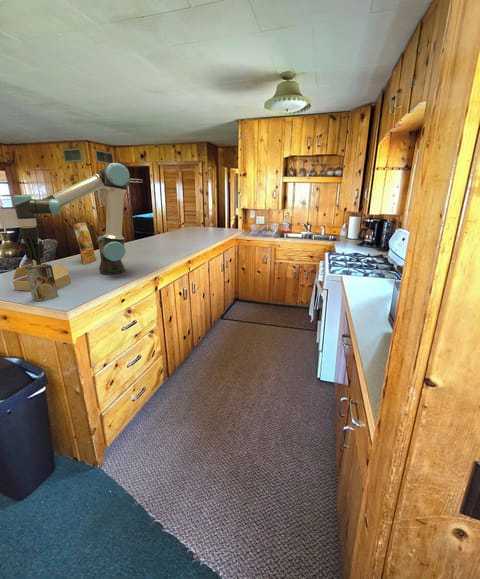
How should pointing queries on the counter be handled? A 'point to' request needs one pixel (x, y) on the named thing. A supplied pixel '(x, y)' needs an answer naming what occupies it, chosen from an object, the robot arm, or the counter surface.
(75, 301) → the counter surface
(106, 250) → the robot arm
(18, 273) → the flap
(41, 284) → the coffee box
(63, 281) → the tan shallow open box
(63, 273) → the flap
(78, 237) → the pancake mix bag
